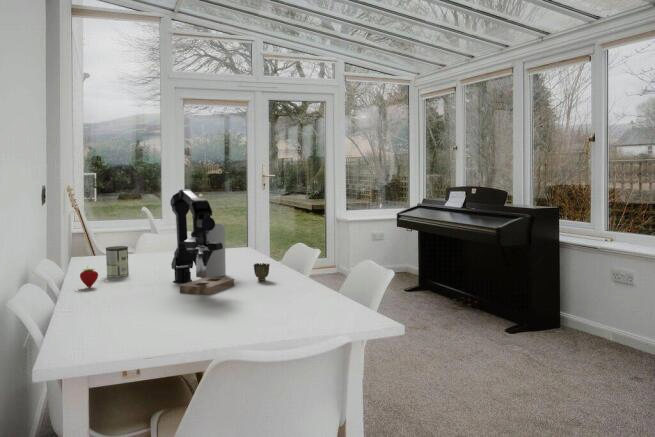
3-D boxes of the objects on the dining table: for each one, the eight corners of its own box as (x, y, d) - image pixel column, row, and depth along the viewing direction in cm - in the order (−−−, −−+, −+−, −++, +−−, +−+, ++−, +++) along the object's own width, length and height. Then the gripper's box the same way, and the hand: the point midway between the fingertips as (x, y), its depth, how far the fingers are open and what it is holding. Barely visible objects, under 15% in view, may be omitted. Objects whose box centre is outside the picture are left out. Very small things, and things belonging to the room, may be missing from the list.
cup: (266, 282, 251) (266, 265, 251) (251, 282, 253) (251, 265, 252) (271, 279, 259) (271, 262, 258) (256, 279, 260) (256, 262, 260)
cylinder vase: (194, 277, 266) (193, 225, 264) (209, 272, 278) (208, 223, 276) (216, 278, 261) (215, 226, 260) (230, 274, 273) (229, 224, 271)
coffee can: (112, 273, 277) (111, 245, 276) (132, 273, 276) (131, 246, 275) (102, 277, 267) (101, 248, 265) (122, 277, 265) (121, 248, 264)
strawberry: (97, 288, 240) (96, 265, 239) (78, 289, 238) (78, 266, 237) (99, 285, 246) (99, 263, 245) (81, 286, 244) (80, 264, 243)
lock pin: (194, 276, 232) (193, 253, 231) (199, 275, 236) (199, 252, 235) (202, 277, 230) (201, 253, 230) (207, 275, 234) (207, 252, 233)
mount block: (179, 292, 231) (179, 285, 231) (207, 283, 250) (207, 276, 250) (208, 294, 226) (208, 287, 226) (234, 285, 246) (233, 278, 245)
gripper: (169, 230, 227) (170, 267, 228) (208, 231, 221) (209, 270, 222) (185, 227, 238) (186, 263, 239) (223, 229, 231) (223, 265, 232)
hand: (200, 265), depth 233 cm, fingers closed on lock pin, 4 cm apart
